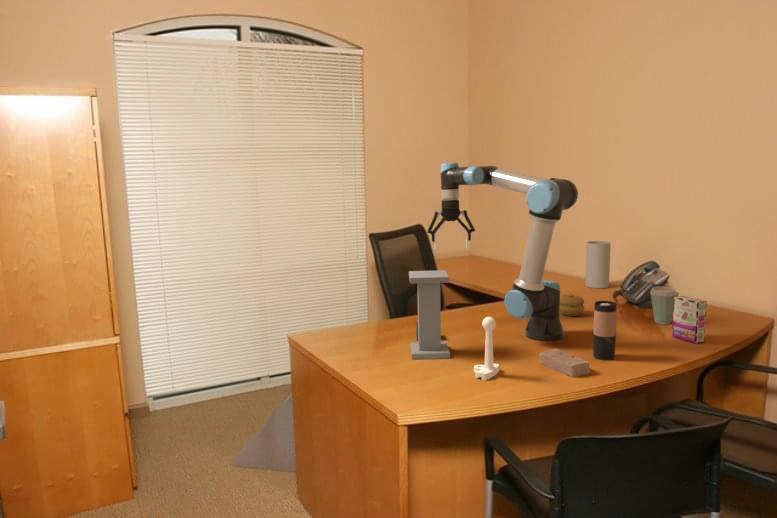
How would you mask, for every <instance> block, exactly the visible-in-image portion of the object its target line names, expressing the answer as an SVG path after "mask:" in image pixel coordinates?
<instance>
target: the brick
mask: <svg viewBox="0 0 777 518" xmlns="http://www.w3.org/2000/svg"><path fill="white" fill-rule="evenodd" d="M539 363H540V365H541V366H544V367H546V368H549V369H552V370H554V371H556V372H559V373H562V374H563V375H567V376H569V377H571V378H577V377H580V376H586V375H589V374H590V371H591V367H590V365H591V364H590V362H589V361H587V360H584V359H583V358H580V357H577V356H573V355H571V354H569V353H567V352H565V351H563V350H562V349H559V348H551V349H548V350H544V351H543V352H540V353H539Z"/></svg>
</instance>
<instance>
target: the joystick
mask: <svg viewBox="0 0 777 518" xmlns="http://www.w3.org/2000/svg"><path fill="white" fill-rule="evenodd" d="M481 325H482V327H483V329H484V331H485V345H484V364H476V365H473V373H475V378H477V379H479V378H481V380H482V381H488V380H490V378H491V377H493V376H494V377H496V376H497V375H498V374H499V372H500V364H499V363H494V344H493V340H494V339H493V330H494V329H495V328H496V326H497V323H496V319H495V318H494V317H492V316H486V317H485V318H483V320H482V323H481ZM497 373H498V374H497ZM496 374H497V375H496ZM495 375H496V376H495ZM494 377H493V378H494ZM487 379H488V380H487ZM491 379H492V378H491Z"/></svg>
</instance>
